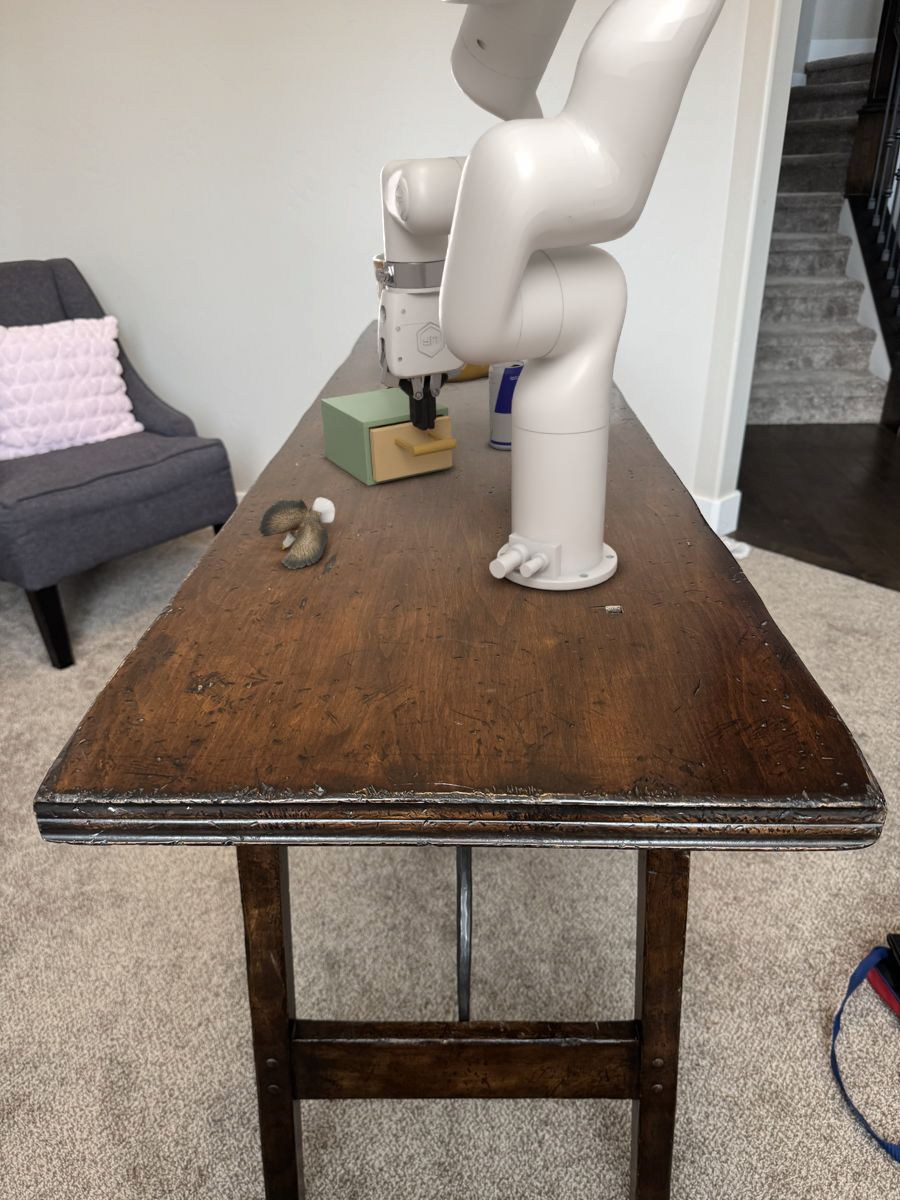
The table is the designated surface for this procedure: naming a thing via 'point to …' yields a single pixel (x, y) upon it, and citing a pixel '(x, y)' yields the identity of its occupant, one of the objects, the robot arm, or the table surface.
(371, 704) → the table surface
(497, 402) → the energy drink
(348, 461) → the cabinet
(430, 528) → the table surface
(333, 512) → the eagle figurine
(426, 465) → the drawer
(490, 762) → the table surface
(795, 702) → the table surface
